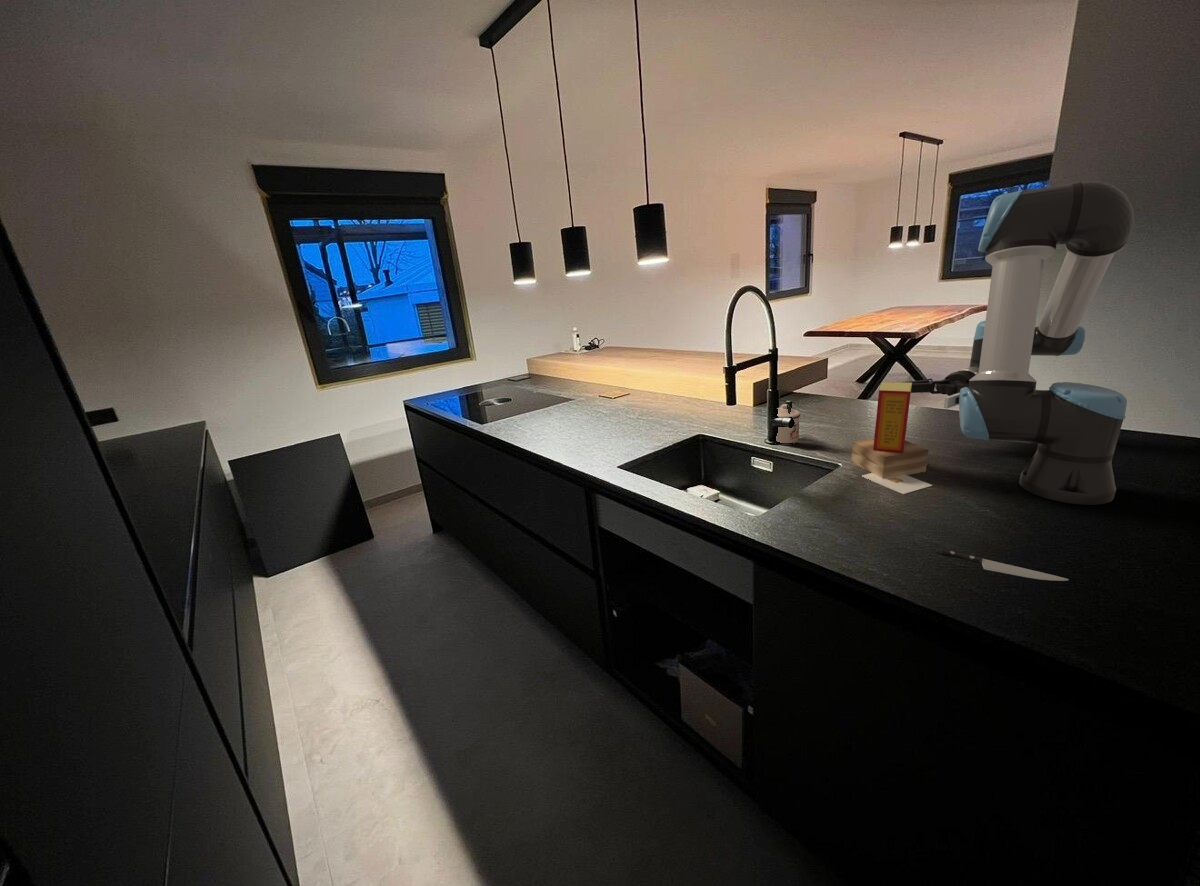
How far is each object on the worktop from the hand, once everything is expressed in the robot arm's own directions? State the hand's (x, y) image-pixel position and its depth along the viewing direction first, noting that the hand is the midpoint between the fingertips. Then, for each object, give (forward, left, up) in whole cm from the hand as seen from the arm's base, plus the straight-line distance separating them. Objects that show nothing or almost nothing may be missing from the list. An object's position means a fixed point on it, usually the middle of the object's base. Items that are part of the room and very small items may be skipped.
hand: (917, 398), depth 123 cm
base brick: (-3, +9, -17) cm, 19 cm away
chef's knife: (-47, +22, -17) cm, 54 cm away
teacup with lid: (+27, +21, -17) cm, 38 cm away
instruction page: (-11, +13, -17) cm, 24 cm away
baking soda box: (-3, +9, -11) cm, 15 cm away
